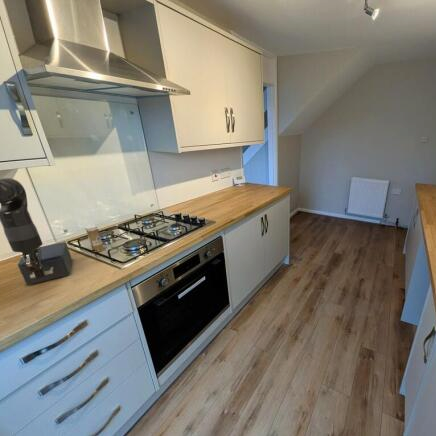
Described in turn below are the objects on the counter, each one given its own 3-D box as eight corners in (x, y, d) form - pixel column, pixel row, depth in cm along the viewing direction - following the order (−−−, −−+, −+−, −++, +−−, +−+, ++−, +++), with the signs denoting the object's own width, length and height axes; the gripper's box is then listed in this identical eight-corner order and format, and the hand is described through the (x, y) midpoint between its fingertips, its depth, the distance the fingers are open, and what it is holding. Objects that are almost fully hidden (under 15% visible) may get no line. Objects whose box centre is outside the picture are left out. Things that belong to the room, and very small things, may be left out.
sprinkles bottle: (100, 252, 118) (92, 227, 114) (90, 252, 118) (82, 228, 113) (105, 248, 123) (98, 224, 118) (96, 248, 122) (88, 224, 117)
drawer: (65, 280, 95) (59, 263, 93) (25, 290, 89) (16, 273, 86) (69, 261, 109) (64, 246, 106) (34, 269, 102) (27, 253, 99)
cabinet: (69, 274, 100) (62, 255, 97) (27, 285, 93) (17, 264, 90) (72, 260, 111) (65, 241, 108) (34, 268, 104) (26, 249, 101)
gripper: (12, 231, 86) (30, 272, 92) (1, 245, 76) (22, 289, 83) (41, 227, 90) (56, 266, 97) (34, 239, 81) (51, 282, 87)
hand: (40, 277), depth 90 cm, fingers closed
